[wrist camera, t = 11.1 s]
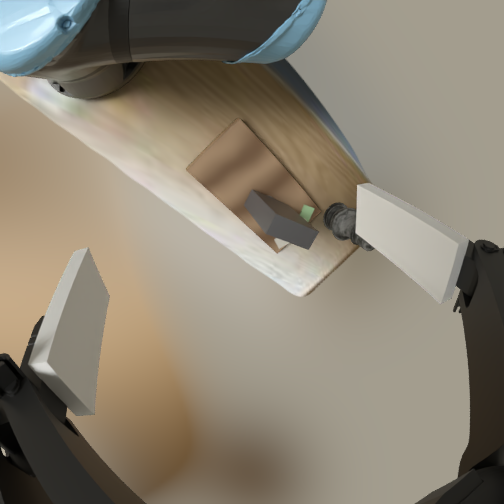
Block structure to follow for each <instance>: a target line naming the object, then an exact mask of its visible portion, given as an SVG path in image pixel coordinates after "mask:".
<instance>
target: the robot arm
mask: <svg viewBox="0 0 504 504" xmlns="http://www.w3.org/2000/svg"><path fill="white" fill-rule="evenodd" d="M326 2H327V0H0V72H3V73H5V74H7V75H9V76H13V77H17V76H28V77H35V78H42V79H47V80H48V82H49V83H50V84H51V86H52V87H53V88H54V89H55V90H57V91H58V92H60V93H61V94H63V95H66V96H68V97H72V98H79V99H92V98H98V97H102V96H105V95H108V94H110V93H112V92H114V91H116V90H118V89H119V88H121V87H122V86H124V85H125V84H126V83H128V82H129V81H130V80H131V79H132V78H133V77H134V76H135V75H136V74H137V72H138V71H139V70H140V69H141V67H142V66H143V64H144V62H145V61H163V60H211V61H222V62H223V63H226V64H236V63H241V62H246V63H261V64H268V63H273V62H276V61H279V60H282V59H285V58H286V57H288V56H289V55H291V54H292V53H294V52H295V51H296V50H297V49H298V48H299V47H300V46H301V45H302V44H303V43H304V42H305V41H306V40H307V38H308V37H309V36H310V34H311V33H312V31H313V30H314V28H315V27H316V25H317V23H318V21H319V19H320V18H321V16H322V13H323V11H324V8H325V5H326ZM355 233H356V234H357V235H359V236H360V237H361V238H363V239H364V240H365V241H366V242H368V243H369V244H370V245H371V246H373V247H374V248H375V249H377V250H378V251H379V252H380V253H382V254H383V255H384V256H385V257H386V258H388V259H389V260H390V261H391V262H392V263H394V264H395V265H396V266H397V267H398V268H400V269H401V270H402V271H404V273H406V274H407V275H408V276H409V277H410V278H411V279H413V280H414V281H415V282H416V283H417V284H418V285H420V286H421V287H422V288H423V289H424V290H425V291H426V292H427V293H429V294H430V295H431V296H432V297H433V298H434V299H435V300H436V301H437V302H438V303H440V304H442V303H444V302H446V301H447V300H449V299H451V298H452V295H453V293H454V290H455V287H456V286H457V287H458V288H459V289H461V290H460V293H459V295H458V298H457V301H456V303H455V306H454V309H453V312H456V309H457V307H458V306H460V310H459V313H462V320H463V326H464V333H465V340H466V348H467V357H468V369H469V385H470V436H469V443H468V446H467V448H466V450H465V452H464V453H463V455H462V459H461V461H460V466H459V472H458V478H457V479H456V480H454V481H452V482H451V483H448V484H447V485H445V486H443V487H441V488H439V489H437V490H435V491H433V492H431V493H430V494H429V495H427V496H426V497H424V498H423V499H421V500H420V501H418V502H417V503H415V504H504V248H499V247H498V246H497V245H495V244H494V243H492V242H490V241H486V240H477V241H476V242H475V243H473V242H471V241H470V240H469V239H468V238H466V237H465V236H463V235H462V234H460V233H459V232H457V231H455V230H454V229H452V228H451V227H449V226H447V225H446V224H444V223H442V222H441V221H439V220H437V219H435V218H434V217H432V216H430V215H429V214H427V213H425V212H423V211H422V210H420V209H418V208H416V207H414V206H412V205H411V204H409V203H407V202H405V201H403V200H402V199H400V198H398V197H396V196H394V195H392V194H390V193H388V192H386V191H384V190H382V189H380V188H378V187H376V186H374V185H372V184H370V183H365V184H359V185H357V212H356V232H355ZM109 297H110V295H109V294H108V291H107V289H106V287H105V285H104V283H103V280H102V278H101V276H100V274H99V271H98V269H97V267H96V265H95V262H94V260H93V257H92V255H91V253H90V250H89V248H88V247H87V248H84V249H81V250H77V251H74V253H73V255H72V257H71V259H70V261H69V263H68V265H67V267H66V269H65V271H64V273H63V275H62V277H61V280H60V282H59V284H58V286H57V288H56V291H55V293H54V295H53V297H52V300H51V302H50V305H49V307H48V309H47V312H46V314H45V316H42V317H41V318H40V320H39V321H38V322H37V324H36V325H35V327H34V329H33V332H32V334H31V338H30V340H29V342H28V346H27V348H26V351H25V354H24V357H23V360H22V363H21V366H20V368H19V367H18V366H17V365H16V364H15V362H14V361H13V360H12V359H11V357H10V356H9V355H8V354H5V353H4V354H0V504H146V503H145V502H144V501H143V500H142V499H140V498H139V497H138V496H137V495H136V494H135V493H134V492H133V491H132V490H131V489H130V488H129V487H128V486H127V485H126V484H124V482H123V481H122V480H121V479H120V478H119V477H118V476H117V475H116V474H115V473H114V472H113V471H112V470H111V469H110V468H109V467H108V466H107V464H106V463H105V462H104V461H103V460H102V459H101V458H100V457H99V455H98V454H97V453H96V452H95V451H94V450H93V449H92V447H91V446H90V445H89V444H88V442H87V441H86V440H85V438H84V437H83V436H82V435H81V433H80V432H79V431H78V429H77V428H76V427H75V426H74V424H73V423H72V421H71V420H70V419H68V418H67V417H66V412H67V407H68V408H69V409H70V410H71V411H72V412H73V413H74V414H75V415H76V416H83V415H94V414H95V400H96V399H95V398H96V386H97V376H98V367H99V359H100V351H101V343H102V337H103V330H104V324H105V318H106V312H107V307H108V302H109ZM1 447H2V448H3V449H4V450H5V453H6V456H4V455H3V453H2V451H1Z"/></svg>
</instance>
